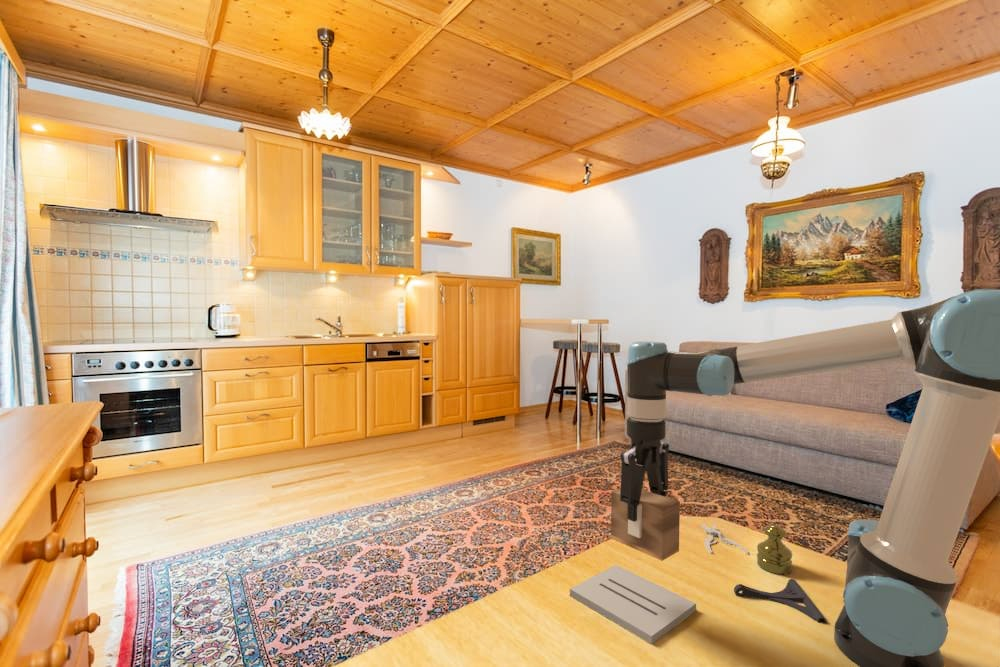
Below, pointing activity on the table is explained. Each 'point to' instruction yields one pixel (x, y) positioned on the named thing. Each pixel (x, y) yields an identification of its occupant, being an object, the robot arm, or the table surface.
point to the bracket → (785, 598)
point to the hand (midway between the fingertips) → (644, 530)
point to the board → (633, 602)
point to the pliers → (715, 532)
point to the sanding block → (648, 524)
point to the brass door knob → (774, 551)
